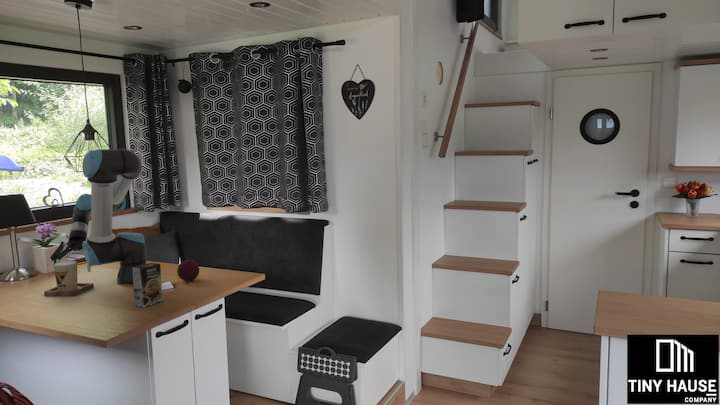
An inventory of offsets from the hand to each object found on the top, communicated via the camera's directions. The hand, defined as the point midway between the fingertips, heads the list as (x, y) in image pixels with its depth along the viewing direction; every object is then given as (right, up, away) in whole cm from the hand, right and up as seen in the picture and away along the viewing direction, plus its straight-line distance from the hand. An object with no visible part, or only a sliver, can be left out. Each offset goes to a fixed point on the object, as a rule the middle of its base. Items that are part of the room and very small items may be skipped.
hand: (72, 271), depth 246 cm
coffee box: (+46, -10, -27) cm, 54 cm away
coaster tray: (+2, -8, -6) cm, 10 cm away
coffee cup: (+1, -7, -6) cm, 10 cm away
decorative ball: (+51, -5, +7) cm, 52 cm away
